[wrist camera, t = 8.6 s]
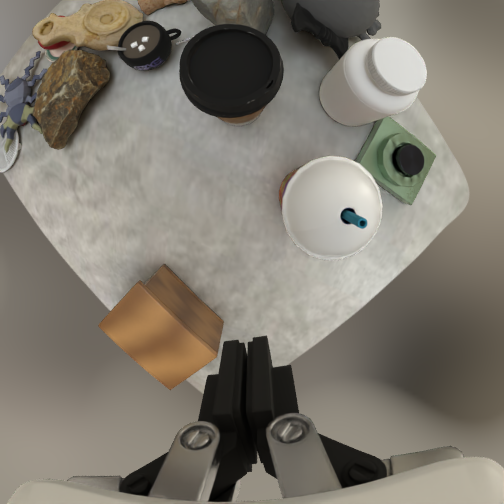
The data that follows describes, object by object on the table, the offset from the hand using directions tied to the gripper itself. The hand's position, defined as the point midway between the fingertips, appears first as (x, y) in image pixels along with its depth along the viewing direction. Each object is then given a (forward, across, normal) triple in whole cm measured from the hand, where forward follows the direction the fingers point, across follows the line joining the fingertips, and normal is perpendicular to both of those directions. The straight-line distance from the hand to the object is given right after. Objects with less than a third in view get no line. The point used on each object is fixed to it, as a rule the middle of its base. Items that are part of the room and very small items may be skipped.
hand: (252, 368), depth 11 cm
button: (+23, -20, -6) cm, 31 cm away
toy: (+25, +32, -20) cm, 45 cm away
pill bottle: (+27, -15, -15) cm, 34 cm away
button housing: (+27, -20, -6) cm, 34 cm away
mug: (+27, +6, -26) cm, 38 cm away
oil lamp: (+25, +18, -32) cm, 44 cm away
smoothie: (+27, -7, -3) cm, 28 cm away
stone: (+20, +1, -31) cm, 37 cm away
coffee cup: (+27, -1, -16) cm, 31 cm away
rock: (+23, +16, -21) cm, 35 cm away
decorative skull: (+23, -16, -34) cm, 43 cm away
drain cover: (+26, +38, -22) cm, 51 cm away
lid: (+19, +13, +9) cm, 25 cm away
